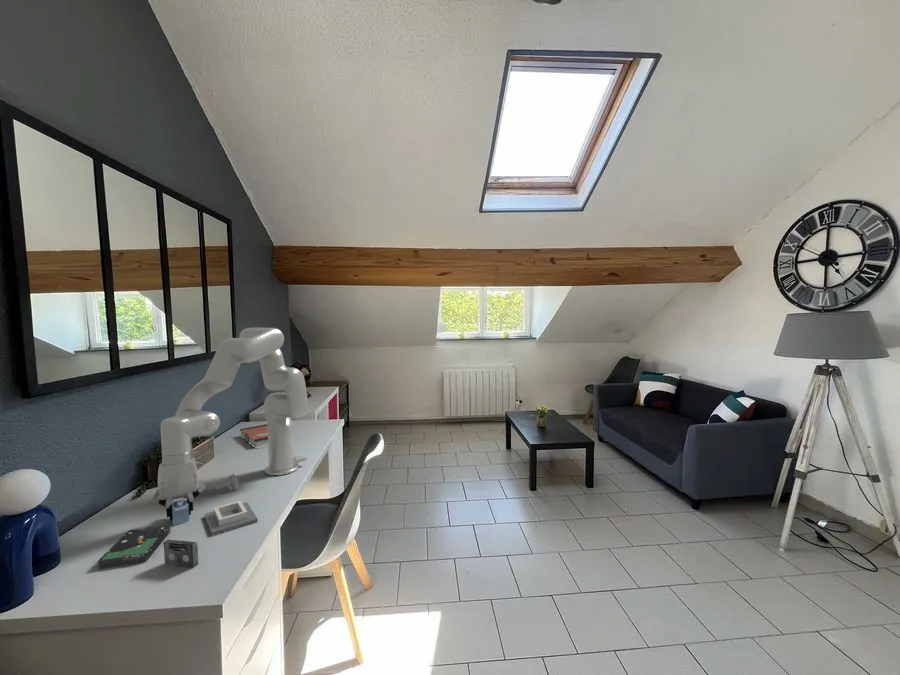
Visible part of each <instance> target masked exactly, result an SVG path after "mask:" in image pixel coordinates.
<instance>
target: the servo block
mask: <svg viewBox="0 0 900 675" xmlns="http://www.w3.org/2000/svg"><path fill="white" fill-rule="evenodd" d="M187 499H188V498H185V496H184V497H178V498H174V499H171V504H172V516H173V519H172V520H171V521H172V526H174V525H175V526H178V525H181V524H180V523H182V524H184V522H185V523H187V521H189V522H190V515H189V505H188V503H187ZM177 524H178V525H177ZM175 526H174V527H175Z"/></svg>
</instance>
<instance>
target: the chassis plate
mask: <svg viewBox="0 0 900 675" xmlns="http://www.w3.org/2000/svg"><path fill="white" fill-rule="evenodd" d="M203 515H204V519H205V522H206V521H207V522H206V524H208V525H207V527H208V530H209V529H210V530H209V532H210V535H211V536H212V535H214V536H216V535H215V534H217V535H219V534H218V533H220V534H222V533H221V532H223V533H225V532H224V531H226V532H228V531H227V530H230V531H232V530H231V529H233V530H236V529H239V528H242V527H241V526H243V527H246V526H248V524H249V525H251V524H255V523H258V522H259V521H258V517H257V515H256V514H255V512H254V511H253V510H252V508H251V506H250V505H249V503H248V502H242V500H238V501H235V502H230V503H228V504H227V503H226V504H223V505H220V506H217V507H214V508H213V511H211V512H207V513H204V514H203ZM245 525H246V526H245ZM238 527H239V528H238ZM235 528H236V529H235Z"/></svg>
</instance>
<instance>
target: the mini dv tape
mask: <svg viewBox="0 0 900 675" xmlns="http://www.w3.org/2000/svg"><path fill="white" fill-rule="evenodd" d="M198 549H199V548H198V542H197V541H187V540H179V539H177V540H176V539H166V540H164V541H163V553H164V555H163V556H164V557H163V558H164V565H165V566H173V567H174V566H175V567H183V568H190V569H195V568H196V566H198V565H199V553H198V552H199V550H198Z"/></svg>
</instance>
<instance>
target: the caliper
mask: <svg viewBox="0 0 900 675" xmlns="http://www.w3.org/2000/svg"><path fill="white" fill-rule="evenodd" d="M232 483H233V485H234V488H235V490H236V491H238V489H239V480H238V476H237V475H235V474H234V473H232V474H229V475H228V477H225V478H223V479H220V480H216V481H215V482H213V483H210V484H206V485H205V487H206V488H205V489H204V490H203V491H202V492H204V491H208V490H212V489H215V490H219V489H222V488H225V487H227V488H228V490H229V491H230V492H233V491H232V490H234V489H233V485H232ZM198 488H199V487H198ZM192 493H193V492H192ZM177 497H178V498H183V497H184V498H185V497H188V495H187V494H183V495H178V496H174V497H172V499H176V498H177Z"/></svg>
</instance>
